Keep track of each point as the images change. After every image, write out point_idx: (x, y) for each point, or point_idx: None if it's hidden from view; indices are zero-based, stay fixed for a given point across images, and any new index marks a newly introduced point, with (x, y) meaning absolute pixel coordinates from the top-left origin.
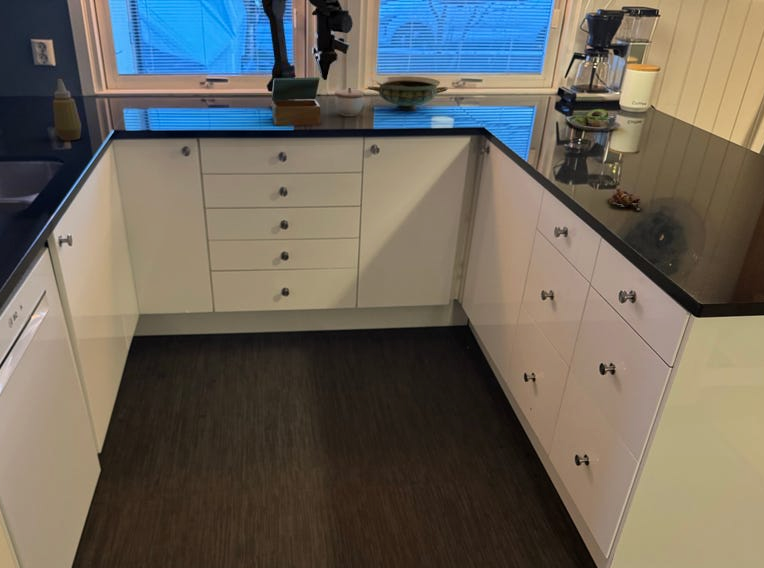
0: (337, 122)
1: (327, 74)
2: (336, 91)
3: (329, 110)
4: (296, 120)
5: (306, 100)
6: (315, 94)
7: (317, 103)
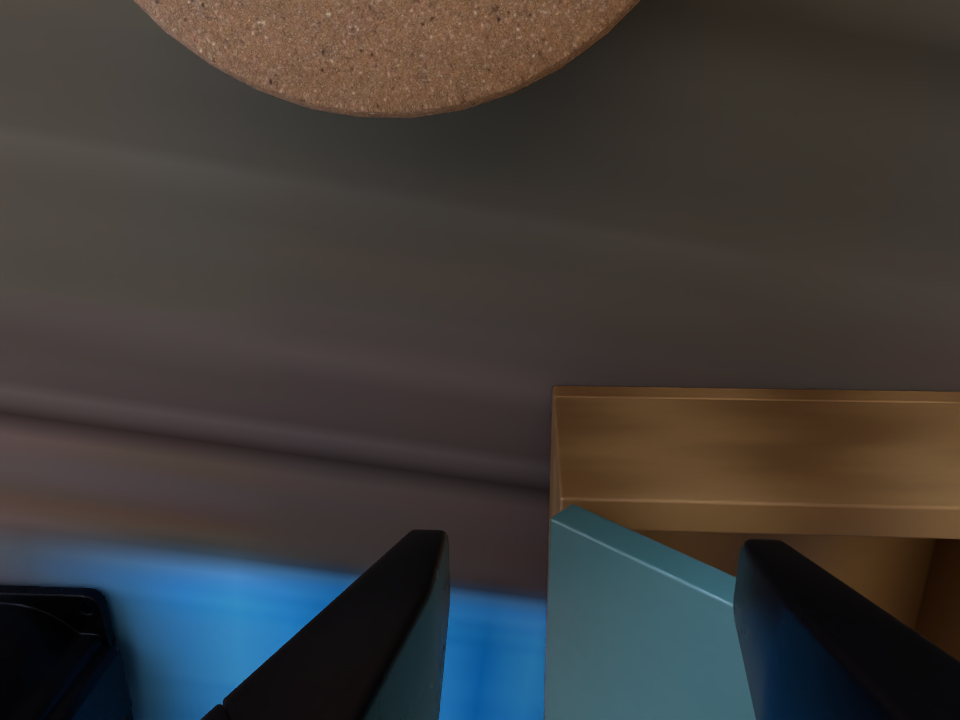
0: (919, 143)
1: (907, 642)
2: (247, 65)
3: (142, 129)
4: None
5: None
6: (706, 576)
7: (906, 517)
